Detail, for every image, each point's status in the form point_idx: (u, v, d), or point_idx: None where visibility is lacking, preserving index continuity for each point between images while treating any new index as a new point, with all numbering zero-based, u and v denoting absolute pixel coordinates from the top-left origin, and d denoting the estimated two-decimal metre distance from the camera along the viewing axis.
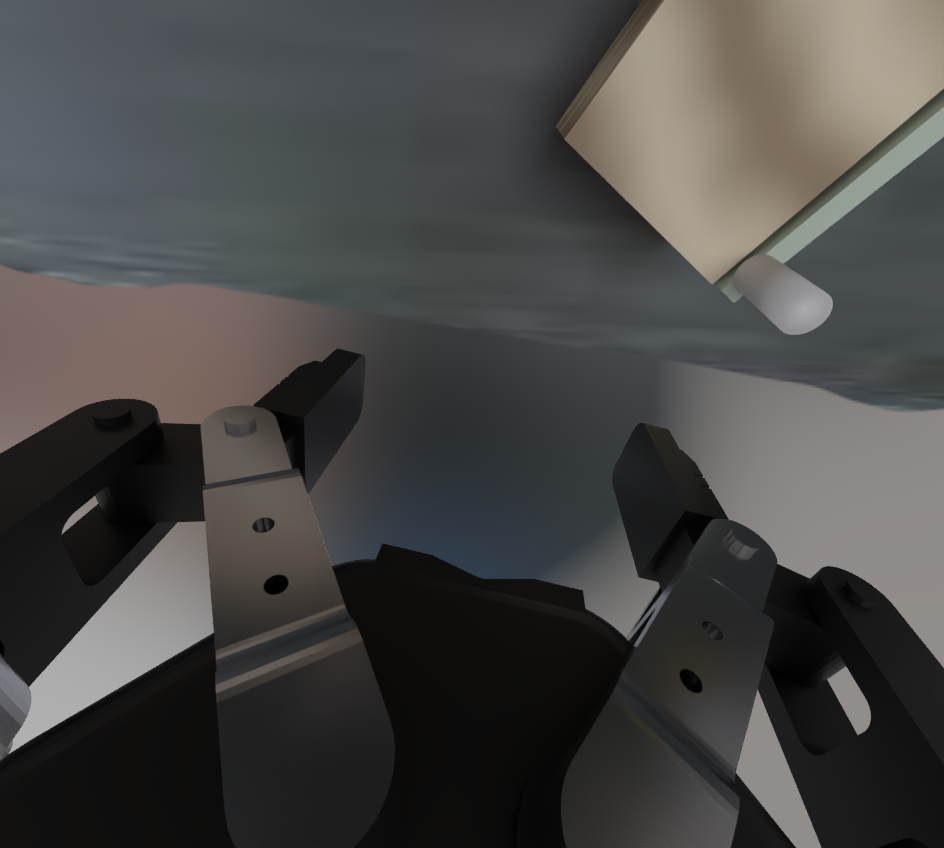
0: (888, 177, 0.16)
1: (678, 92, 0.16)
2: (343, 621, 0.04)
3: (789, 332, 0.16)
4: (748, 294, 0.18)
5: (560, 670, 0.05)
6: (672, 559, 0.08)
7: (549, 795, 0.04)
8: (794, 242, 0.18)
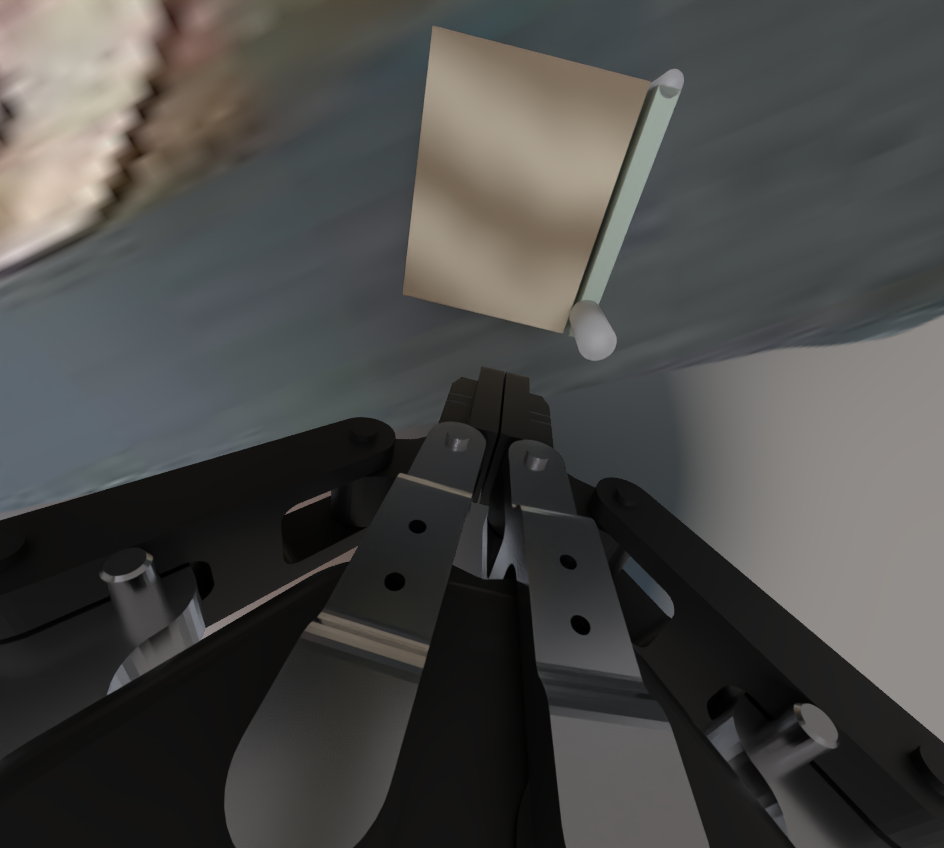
0: (629, 218, 0.20)
1: (453, 239, 0.22)
2: (418, 652, 0.04)
3: (598, 359, 0.20)
4: None
5: None
6: (495, 481, 0.09)
7: (549, 795, 0.04)
8: (596, 284, 0.22)
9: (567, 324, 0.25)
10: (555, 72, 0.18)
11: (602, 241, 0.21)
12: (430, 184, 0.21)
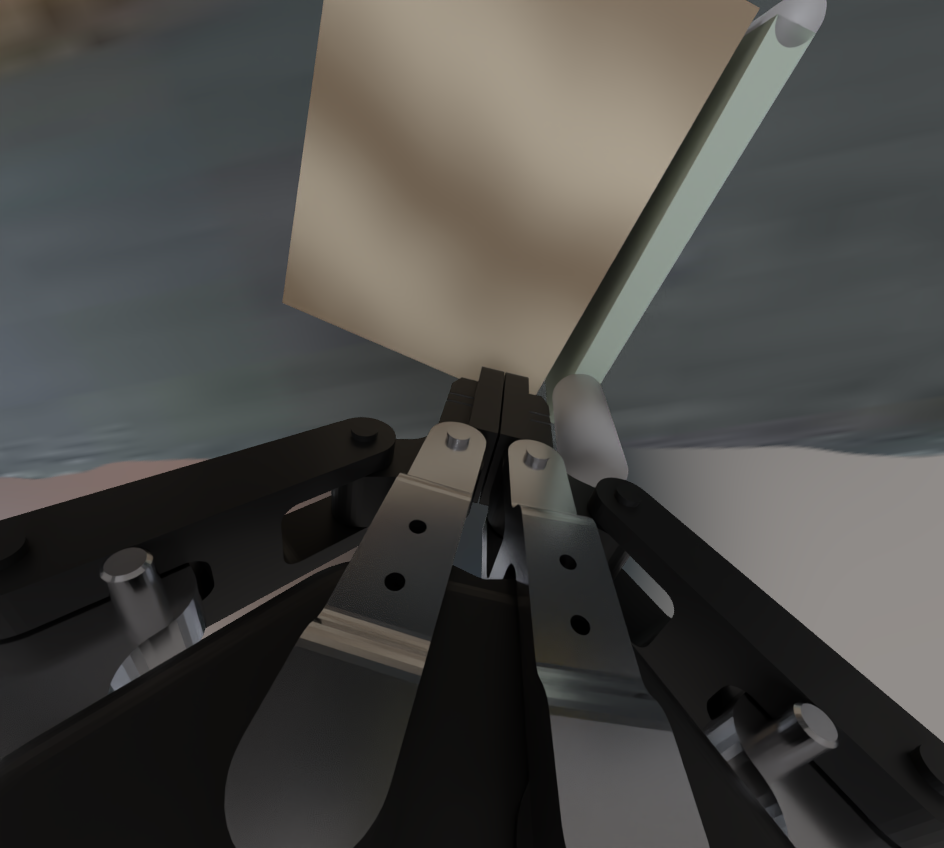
0: (672, 258, 0.12)
1: (370, 230, 0.13)
2: (418, 652, 0.04)
3: None
4: None
5: None
6: (495, 480, 0.09)
7: (549, 795, 0.04)
8: (602, 353, 0.14)
9: (548, 397, 0.17)
10: None
11: (622, 288, 0.13)
12: (335, 123, 0.12)
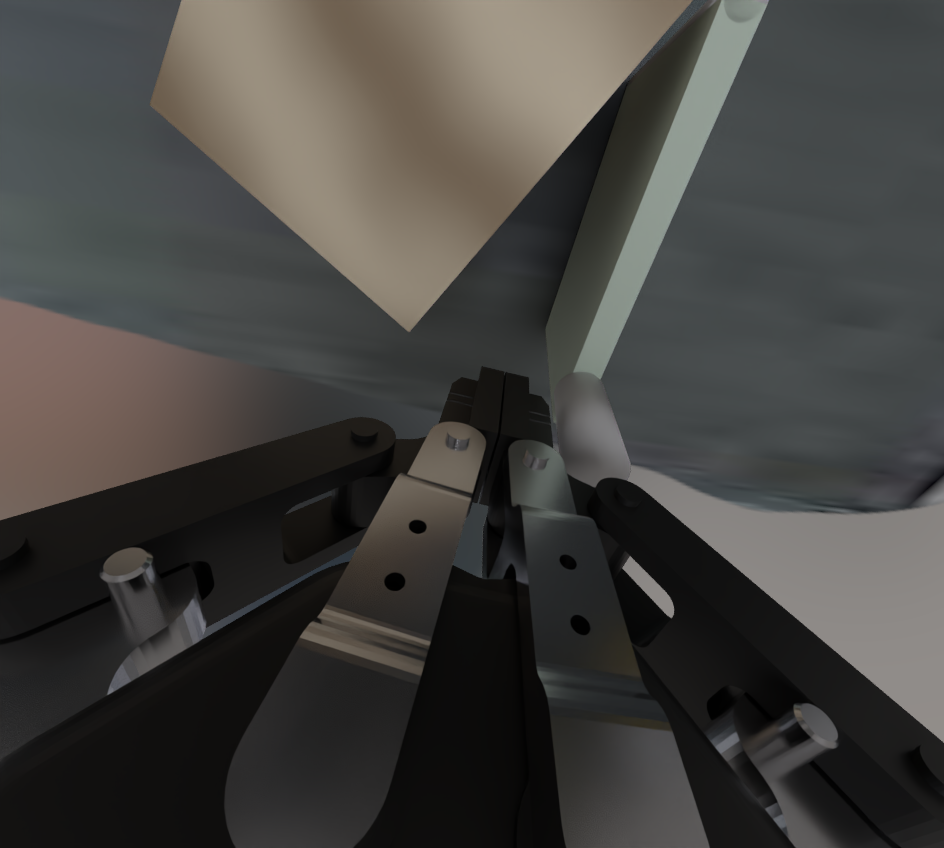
0: (655, 246, 0.12)
1: (275, 52, 0.11)
2: (418, 653, 0.04)
3: None
4: None
5: None
6: (495, 481, 0.09)
7: (549, 795, 0.04)
8: (597, 348, 0.14)
9: (552, 398, 0.17)
10: None
11: (608, 282, 0.13)
12: None
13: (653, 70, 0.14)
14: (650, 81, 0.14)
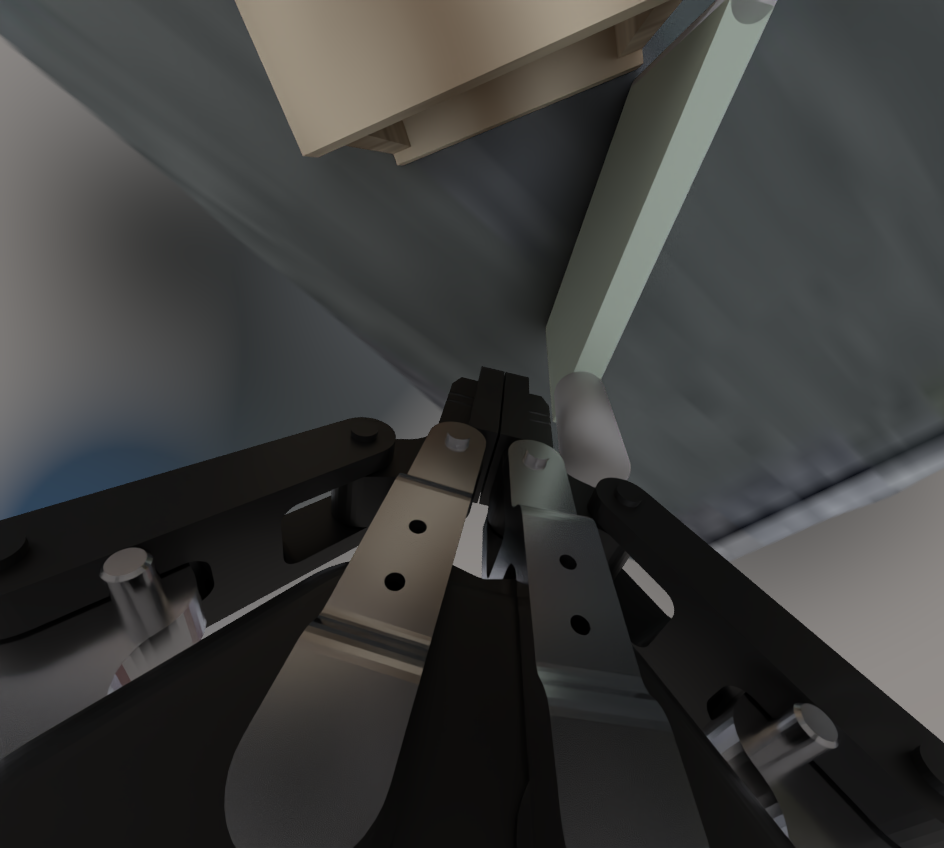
0: (658, 247, 0.12)
1: None
2: (418, 652, 0.04)
3: None
4: None
5: None
6: (495, 480, 0.09)
7: (549, 795, 0.04)
8: (598, 349, 0.14)
9: (552, 398, 0.17)
10: None
11: (610, 282, 0.13)
12: None
13: (658, 70, 0.14)
14: (655, 81, 0.14)
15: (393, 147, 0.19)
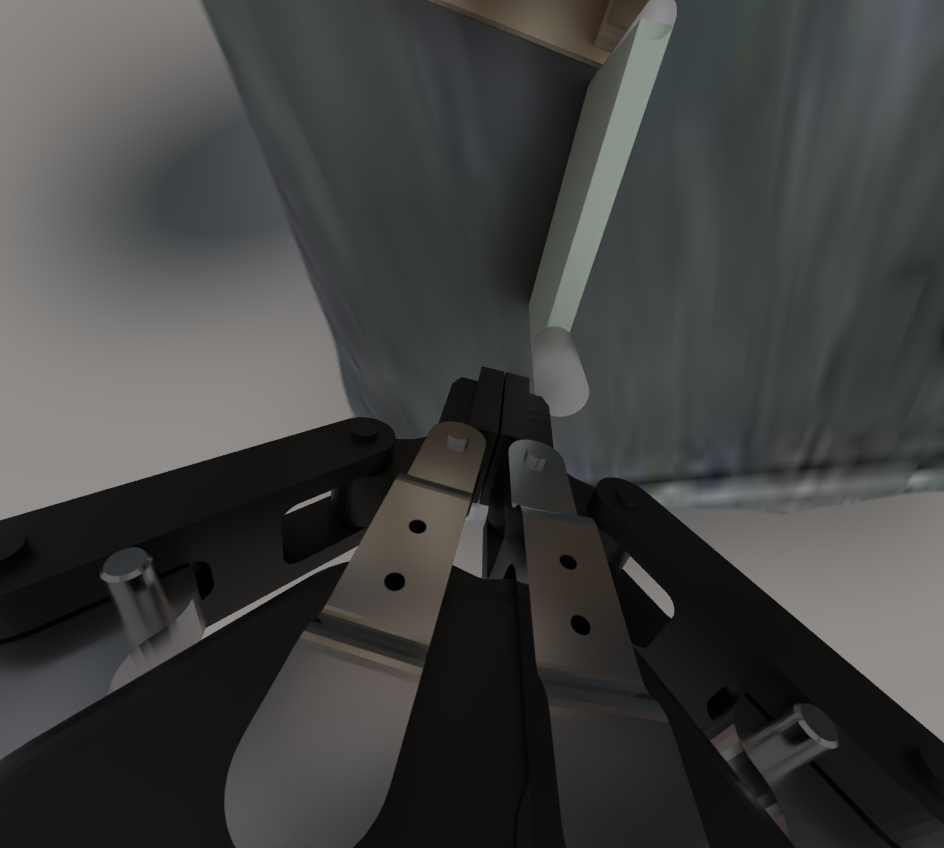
0: (605, 217, 0.15)
1: None
2: (418, 652, 0.04)
3: (564, 414, 0.14)
4: None
5: None
6: (495, 481, 0.09)
7: (549, 795, 0.04)
8: (565, 306, 0.16)
9: (533, 355, 0.19)
10: None
11: (570, 248, 0.15)
12: None
13: (603, 74, 0.17)
14: (601, 83, 0.17)
15: None
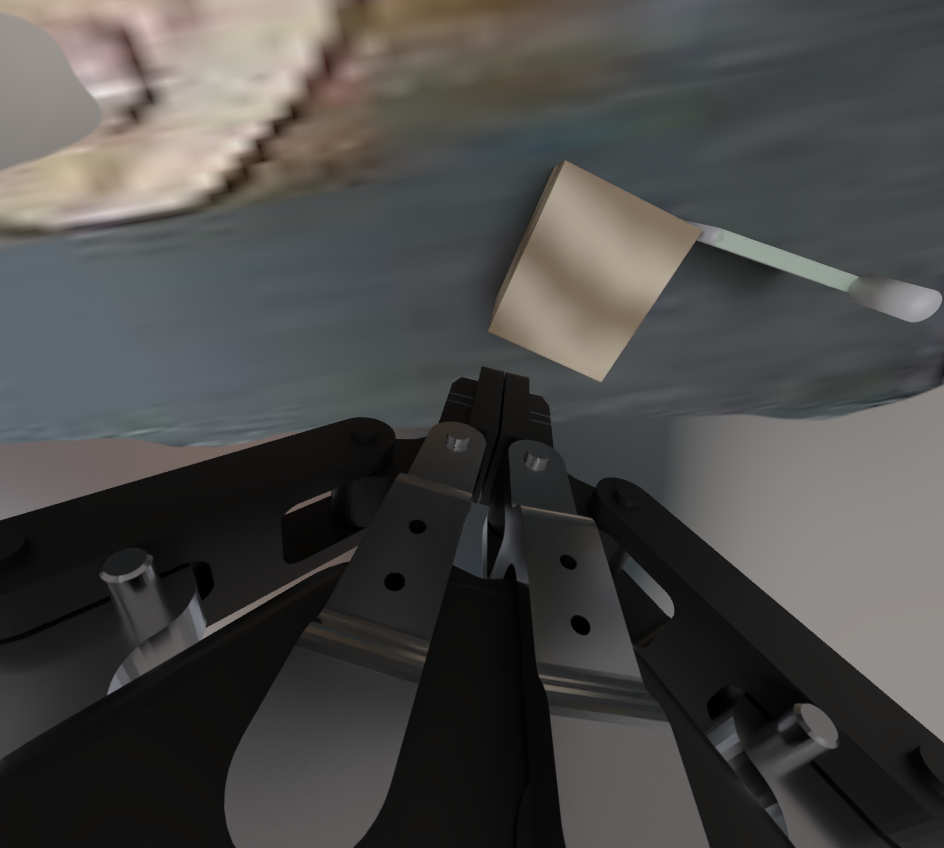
0: (795, 257, 0.26)
1: (538, 300, 0.29)
2: (418, 652, 0.04)
3: (938, 304, 0.22)
4: None
5: None
6: (495, 481, 0.09)
7: (549, 795, 0.04)
8: (838, 279, 0.26)
9: None
10: (641, 210, 0.26)
11: (803, 276, 0.26)
12: (533, 260, 0.28)
13: None
14: None
15: None
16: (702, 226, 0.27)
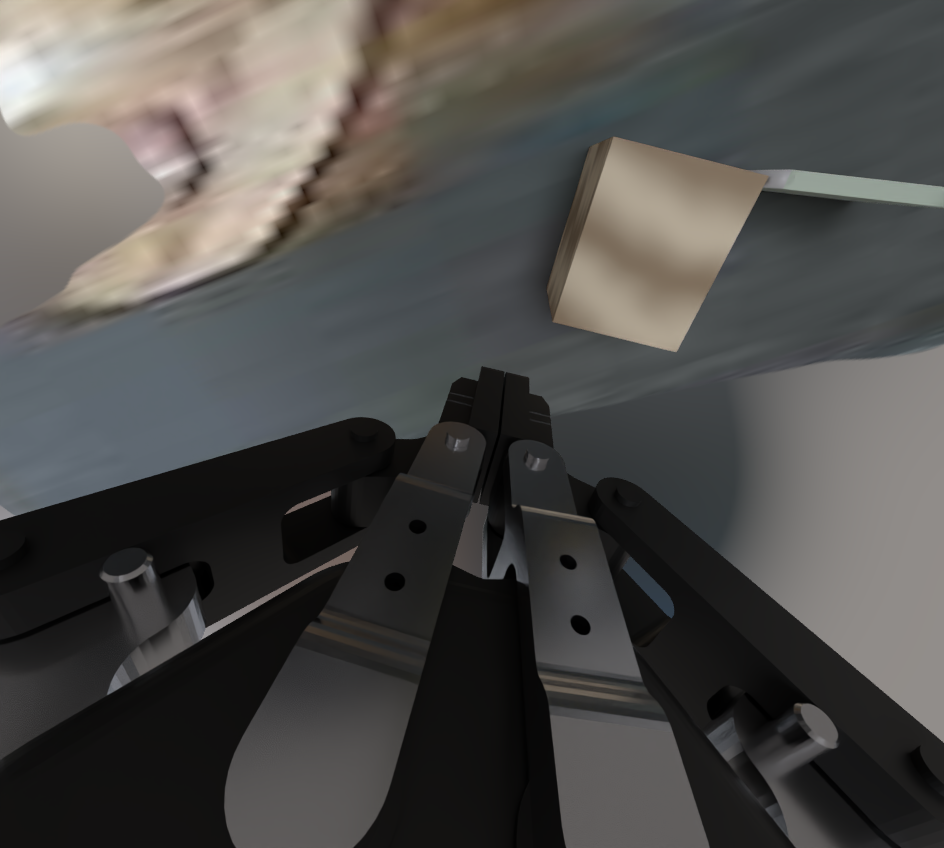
0: (879, 182, 0.24)
1: (601, 281, 0.29)
2: (418, 652, 0.04)
3: None
4: None
5: None
6: (495, 481, 0.09)
7: (549, 795, 0.04)
8: (933, 196, 0.24)
9: None
10: (699, 168, 0.25)
11: (890, 201, 0.25)
12: (591, 242, 0.28)
13: None
14: None
15: None
16: (766, 172, 0.26)
